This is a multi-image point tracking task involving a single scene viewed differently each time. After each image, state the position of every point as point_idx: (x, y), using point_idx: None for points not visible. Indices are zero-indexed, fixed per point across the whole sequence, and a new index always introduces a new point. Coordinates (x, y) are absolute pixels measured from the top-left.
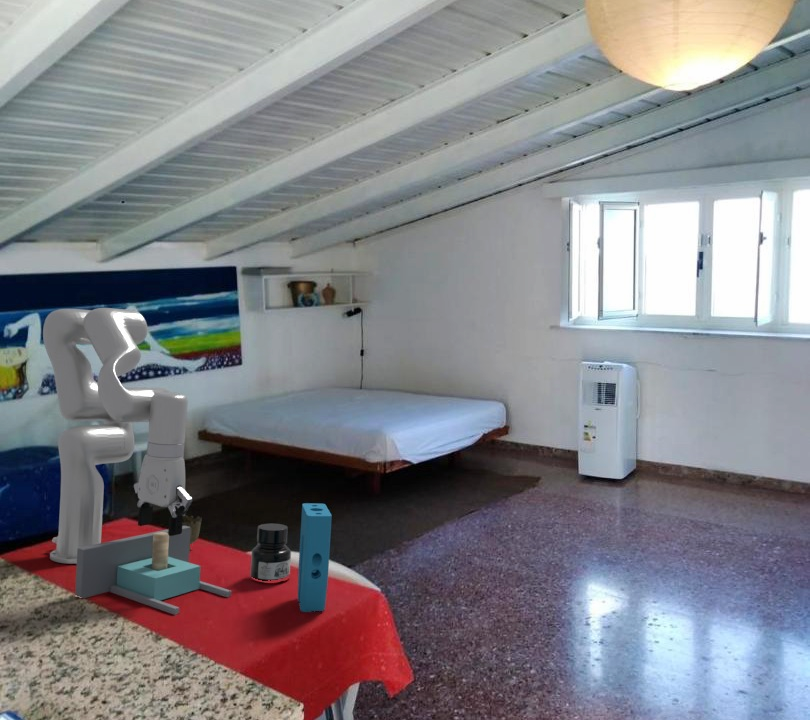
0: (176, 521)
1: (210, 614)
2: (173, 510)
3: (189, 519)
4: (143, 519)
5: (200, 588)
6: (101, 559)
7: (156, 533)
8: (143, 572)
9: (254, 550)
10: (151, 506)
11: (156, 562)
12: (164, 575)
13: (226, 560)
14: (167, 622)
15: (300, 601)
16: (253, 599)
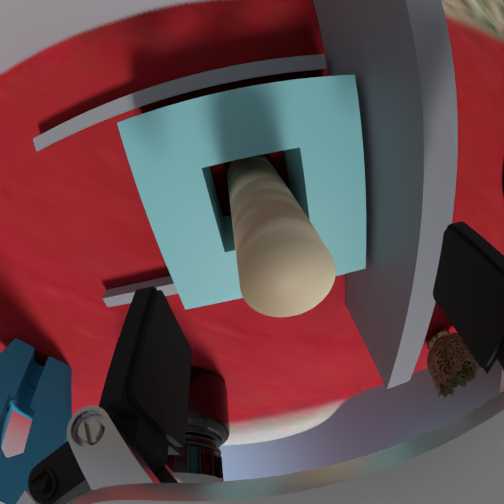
0: (103, 390)
1: (21, 210)
2: (87, 464)
3: (464, 379)
4: (463, 266)
5: None
6: (369, 2)
7: (319, 263)
8: (215, 111)
9: (194, 422)
10: (489, 366)
11: (244, 187)
12: (134, 167)
13: (337, 372)
14: (12, 106)
15: (20, 351)
16: (80, 319)
